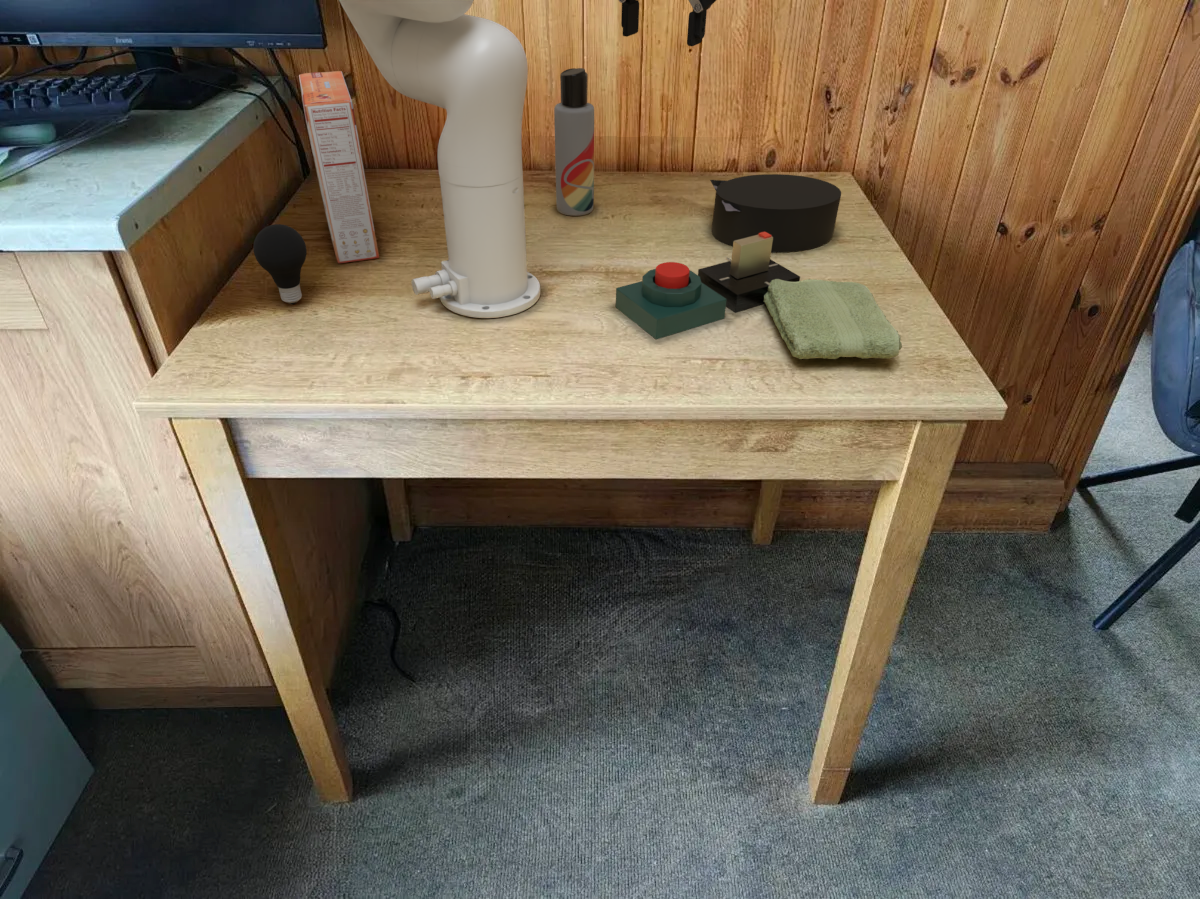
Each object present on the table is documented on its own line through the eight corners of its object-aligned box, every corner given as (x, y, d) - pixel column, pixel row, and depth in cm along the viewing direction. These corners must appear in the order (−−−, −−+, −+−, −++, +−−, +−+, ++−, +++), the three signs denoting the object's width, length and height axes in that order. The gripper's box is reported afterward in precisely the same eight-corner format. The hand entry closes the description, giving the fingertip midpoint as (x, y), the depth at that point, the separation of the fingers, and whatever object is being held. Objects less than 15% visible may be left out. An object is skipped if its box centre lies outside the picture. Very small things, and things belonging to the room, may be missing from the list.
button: (667, 293, 98) (668, 279, 97) (648, 279, 100) (649, 266, 99) (695, 285, 99) (696, 272, 98) (675, 272, 102) (676, 259, 101)
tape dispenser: (843, 258, 118) (857, 206, 113) (718, 252, 116) (727, 199, 111) (814, 220, 129) (826, 171, 125) (700, 214, 127) (707, 165, 123)
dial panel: (738, 315, 102) (740, 295, 101) (693, 285, 108) (695, 266, 107) (800, 296, 106) (803, 277, 105) (754, 268, 112) (756, 249, 111)
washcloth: (862, 294, 106) (866, 270, 104) (905, 364, 91) (911, 338, 89) (758, 296, 106) (761, 272, 104) (785, 366, 91) (789, 340, 89)
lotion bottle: (593, 217, 125) (594, 75, 113) (555, 216, 126) (551, 74, 113) (594, 202, 130) (595, 64, 118) (557, 201, 130) (554, 63, 118)
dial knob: (737, 279, 104) (741, 243, 101) (729, 274, 105) (733, 238, 102) (768, 270, 106) (773, 235, 103) (760, 265, 107) (765, 230, 104)
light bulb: (267, 317, 100) (246, 239, 94) (269, 295, 105) (249, 218, 99) (318, 311, 102) (300, 233, 96) (317, 290, 106) (301, 214, 100)
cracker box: (327, 225, 122) (296, 72, 109) (369, 220, 124) (344, 68, 111) (334, 265, 112) (301, 101, 99) (380, 260, 113) (354, 97, 100)
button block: (656, 340, 97) (658, 305, 95) (615, 307, 103) (616, 274, 101) (724, 319, 101) (728, 285, 99) (681, 289, 108) (684, 256, 105)
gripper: (593, -117, 102) (591, 36, 113) (722, -109, 95) (708, 54, 106) (623, -121, 107) (620, 26, 118) (748, -113, 100) (732, 42, 111)
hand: (661, 39), depth 112 cm, fingers open, 9 cm apart
